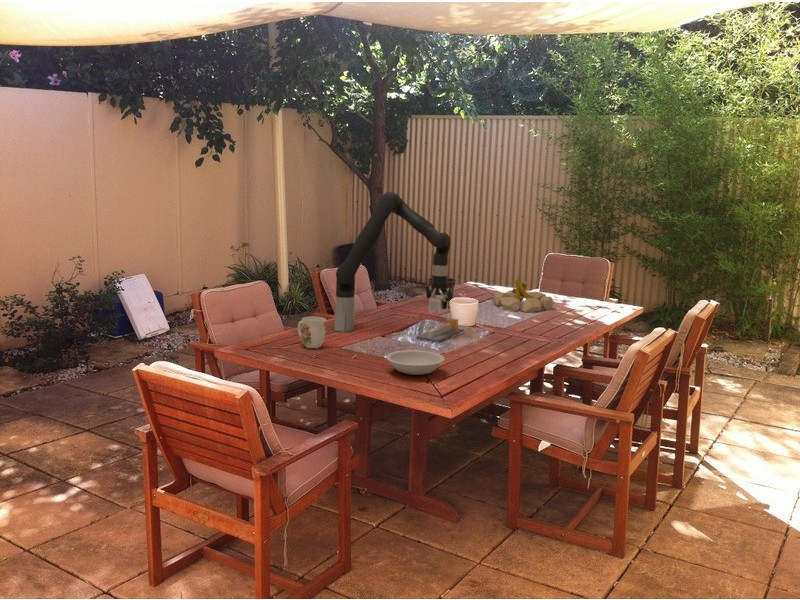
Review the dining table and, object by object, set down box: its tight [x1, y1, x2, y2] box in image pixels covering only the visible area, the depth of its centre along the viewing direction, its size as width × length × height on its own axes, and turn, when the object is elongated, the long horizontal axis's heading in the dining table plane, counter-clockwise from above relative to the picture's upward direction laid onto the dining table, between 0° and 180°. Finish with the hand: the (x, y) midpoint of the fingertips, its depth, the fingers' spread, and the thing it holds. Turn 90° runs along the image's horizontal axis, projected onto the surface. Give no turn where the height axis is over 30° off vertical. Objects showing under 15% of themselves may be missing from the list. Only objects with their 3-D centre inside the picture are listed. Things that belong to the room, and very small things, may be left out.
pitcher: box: [297, 315, 327, 349], centre depth 358 cm, size 11×18×14 cm, turn 50°
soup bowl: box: [385, 349, 446, 376], centre depth 321 cm, size 24×24×7 cm
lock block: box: [428, 295, 449, 314], centre depth 382 cm, size 10×6×7 cm, turn 150°
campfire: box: [491, 279, 555, 313], centre depth 466 cm, size 35×34×17 cm
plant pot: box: [427, 277, 456, 309], centre depth 461 cm, size 16×16×16 cm
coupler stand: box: [415, 317, 465, 343], centre depth 387 cm, size 28×12×6 cm, turn 150°
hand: (438, 308), depth 382 cm, fingers closed on lock block, 6 cm apart
